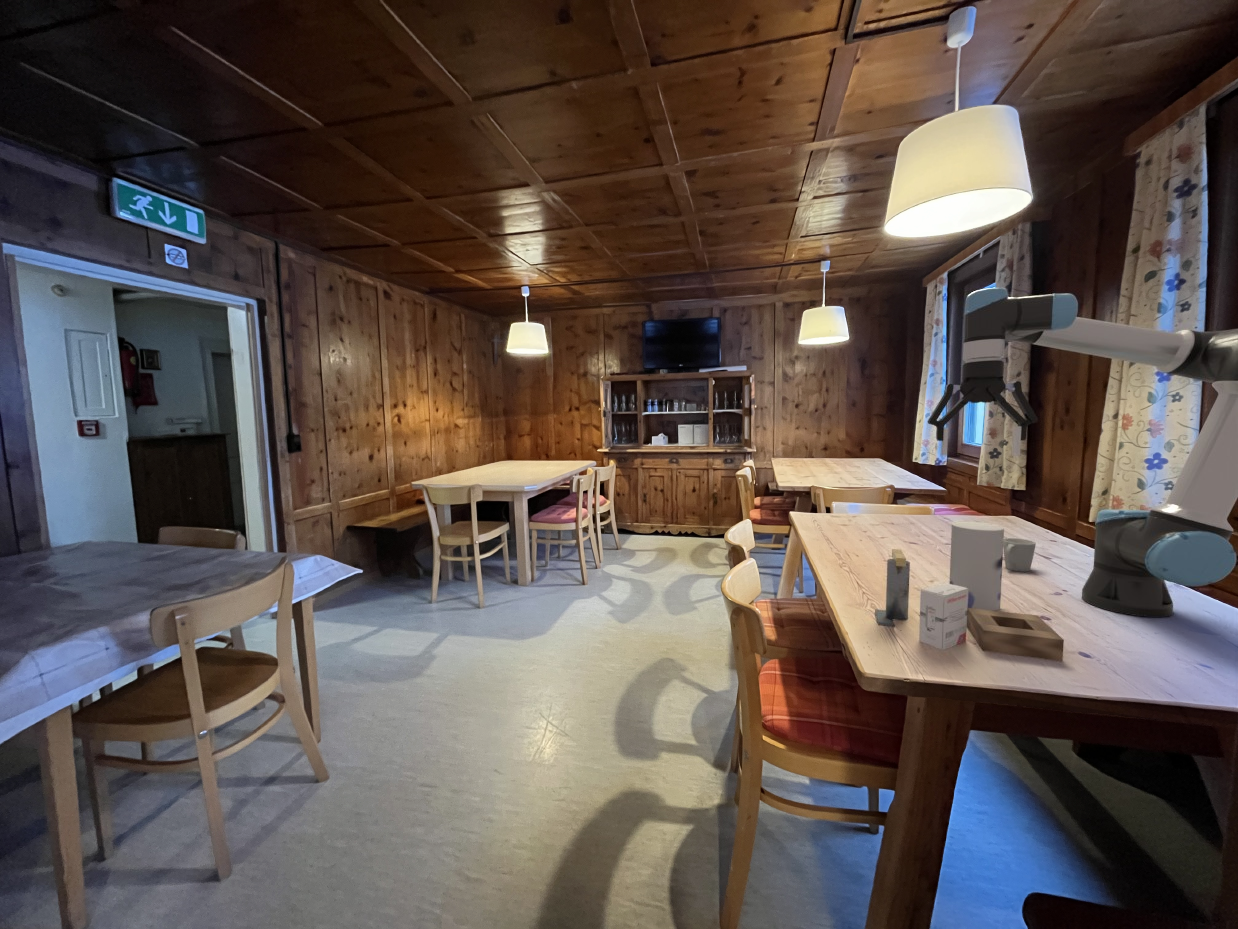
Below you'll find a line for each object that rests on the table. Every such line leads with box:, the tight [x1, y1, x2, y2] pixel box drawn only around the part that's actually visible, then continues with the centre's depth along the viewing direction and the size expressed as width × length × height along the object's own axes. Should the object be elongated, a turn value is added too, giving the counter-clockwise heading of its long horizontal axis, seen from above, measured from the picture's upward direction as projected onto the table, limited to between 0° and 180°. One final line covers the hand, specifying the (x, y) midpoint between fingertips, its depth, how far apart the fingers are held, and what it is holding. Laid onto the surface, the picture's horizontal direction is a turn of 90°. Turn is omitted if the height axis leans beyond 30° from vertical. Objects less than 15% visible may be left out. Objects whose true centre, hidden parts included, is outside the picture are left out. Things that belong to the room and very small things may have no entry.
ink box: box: [918, 582, 968, 651], centre depth 98 cm, size 9×5×12 cm, turn 118°
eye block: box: [967, 608, 1065, 662], centre depth 97 cm, size 12×12×5 cm
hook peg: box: [885, 548, 911, 621], centre depth 110 cm, size 8×4×15 cm, turn 157°
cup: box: [1003, 537, 1036, 573], centre depth 145 cm, size 8×10×8 cm
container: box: [949, 520, 1005, 611], centre depth 117 cm, size 10×10×20 cm
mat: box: [874, 608, 896, 628], centre depth 111 cm, size 8×8×1 cm
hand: (978, 455), depth 112 cm, fingers open, 13 cm apart
